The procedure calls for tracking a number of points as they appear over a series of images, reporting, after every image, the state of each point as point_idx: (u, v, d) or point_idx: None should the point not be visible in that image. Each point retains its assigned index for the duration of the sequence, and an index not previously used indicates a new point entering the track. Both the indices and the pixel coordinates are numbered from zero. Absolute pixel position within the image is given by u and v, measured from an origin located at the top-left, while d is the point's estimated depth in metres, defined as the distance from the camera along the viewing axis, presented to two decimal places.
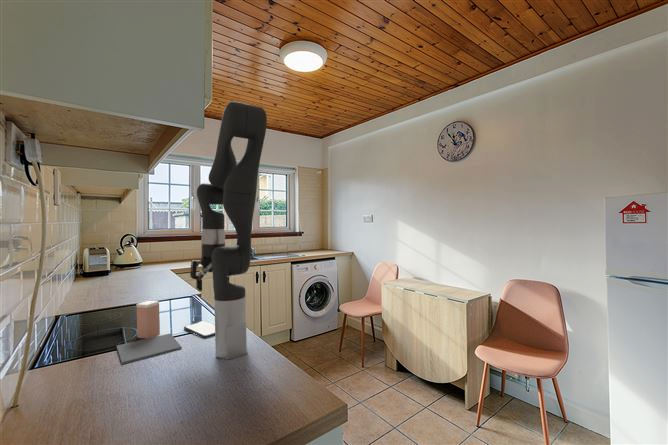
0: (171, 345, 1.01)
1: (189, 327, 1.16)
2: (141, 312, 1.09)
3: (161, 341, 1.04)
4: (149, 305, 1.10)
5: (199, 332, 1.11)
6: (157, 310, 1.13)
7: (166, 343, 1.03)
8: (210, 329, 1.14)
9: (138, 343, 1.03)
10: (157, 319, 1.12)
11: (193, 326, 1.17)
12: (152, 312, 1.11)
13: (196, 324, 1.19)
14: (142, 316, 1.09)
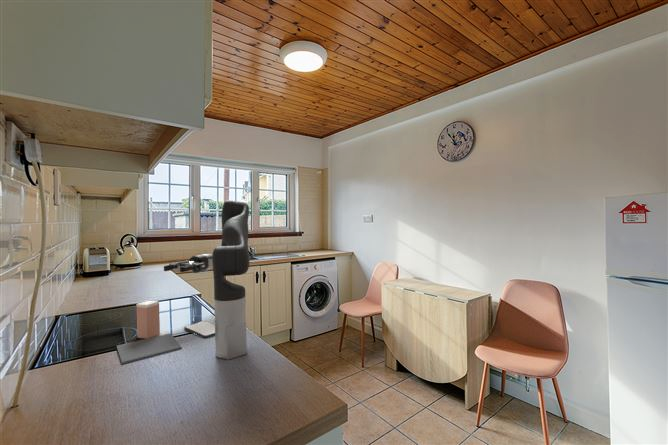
0: (171, 345, 1.01)
1: (189, 327, 1.16)
2: (141, 312, 1.09)
3: (161, 341, 1.04)
4: (149, 305, 1.10)
5: (199, 332, 1.11)
6: (157, 310, 1.13)
7: (166, 343, 1.03)
8: (210, 329, 1.14)
9: (138, 343, 1.03)
10: (157, 319, 1.13)
11: (193, 326, 1.17)
12: (152, 312, 1.11)
13: (196, 324, 1.19)
14: (142, 316, 1.09)
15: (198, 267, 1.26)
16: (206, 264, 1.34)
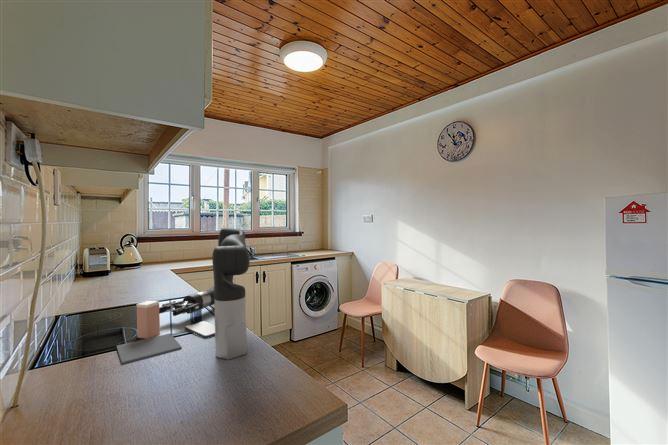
0: (171, 345, 1.01)
1: (189, 327, 1.16)
2: (141, 312, 1.09)
3: (161, 341, 1.04)
4: (149, 305, 1.10)
5: (199, 332, 1.11)
6: (157, 310, 1.13)
7: (166, 343, 1.03)
8: (210, 329, 1.14)
9: (138, 343, 1.03)
10: (157, 319, 1.12)
11: (193, 326, 1.17)
12: (152, 312, 1.11)
13: (196, 324, 1.19)
14: (142, 316, 1.09)
15: (192, 309, 1.23)
16: (200, 304, 1.31)
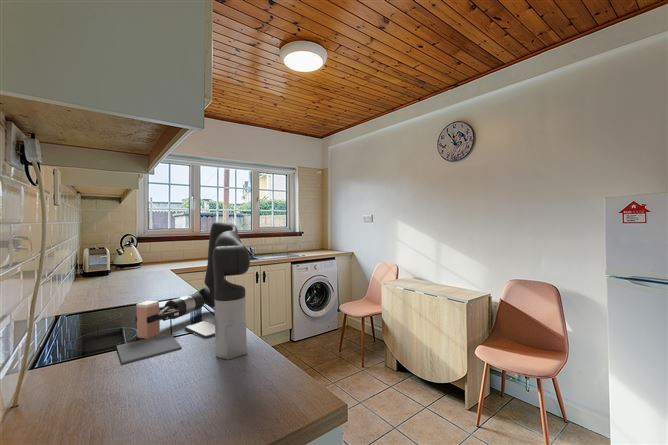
0: (171, 345, 1.01)
1: (190, 327, 1.16)
2: (141, 312, 1.09)
3: (161, 341, 1.04)
4: (149, 305, 1.10)
5: (200, 332, 1.11)
6: (157, 310, 1.13)
7: (166, 343, 1.03)
8: (211, 329, 1.14)
9: (138, 343, 1.03)
10: None
11: (194, 326, 1.17)
12: (152, 312, 1.11)
13: (196, 324, 1.19)
14: (142, 316, 1.09)
15: (169, 316, 1.14)
16: (183, 309, 1.22)
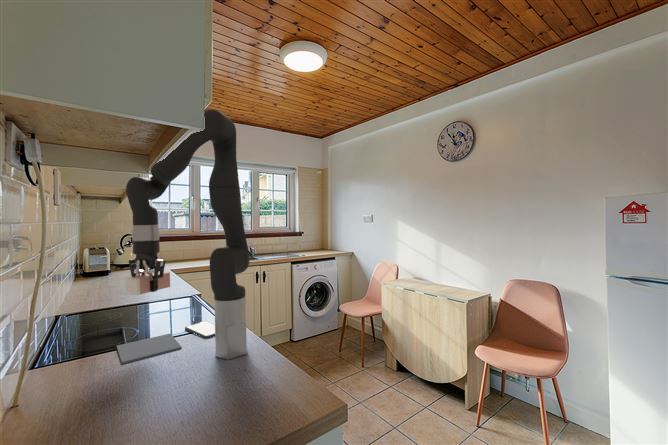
0: (171, 345, 1.01)
1: (190, 327, 1.16)
2: None
3: (161, 341, 1.04)
4: (138, 291, 0.95)
5: (200, 332, 1.11)
6: (146, 279, 0.97)
7: (166, 343, 1.03)
8: (211, 329, 1.14)
9: (138, 343, 1.03)
10: None
11: (194, 326, 1.17)
12: (146, 285, 0.97)
13: (197, 325, 1.19)
14: None
15: None
16: (155, 244, 0.99)
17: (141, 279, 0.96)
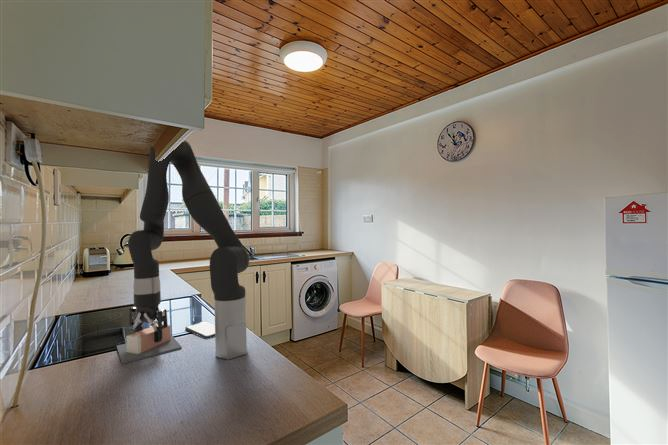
0: (171, 345, 1.01)
1: (190, 327, 1.16)
2: None
3: None
4: (139, 349, 0.95)
5: (201, 332, 1.11)
6: (147, 336, 0.98)
7: (166, 343, 1.03)
8: (212, 329, 1.14)
9: None
10: None
11: (194, 326, 1.17)
12: (147, 342, 0.98)
13: (197, 325, 1.19)
14: None
15: (163, 320, 0.98)
16: (156, 296, 0.99)
17: (142, 337, 0.96)
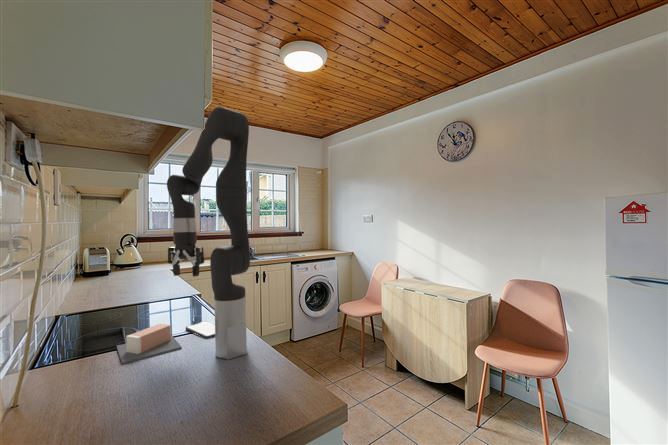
0: (171, 345, 1.01)
1: (191, 327, 1.16)
2: None
3: None
4: (139, 349, 0.95)
5: (201, 332, 1.11)
6: (147, 336, 0.98)
7: (166, 343, 1.03)
8: (212, 329, 1.13)
9: None
10: (156, 333, 1.01)
11: (195, 326, 1.17)
12: (147, 342, 0.98)
13: (197, 325, 1.19)
14: None
15: (200, 256, 1.09)
16: (193, 235, 1.10)
17: (142, 337, 0.96)
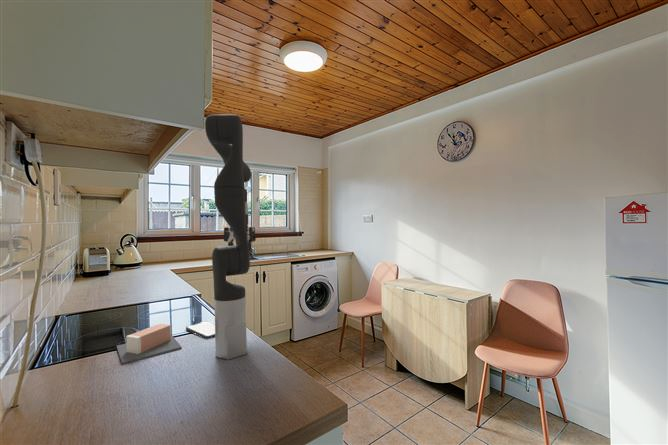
0: (171, 345, 1.01)
1: (191, 327, 1.16)
2: None
3: None
4: (139, 349, 0.95)
5: (201, 333, 1.11)
6: (147, 336, 0.98)
7: (166, 343, 1.03)
8: (212, 330, 1.13)
9: None
10: (156, 333, 1.01)
11: (195, 326, 1.17)
12: (147, 342, 0.98)
13: (198, 325, 1.19)
14: None
15: (252, 235, 1.27)
16: (246, 217, 1.28)
17: (142, 337, 0.96)
